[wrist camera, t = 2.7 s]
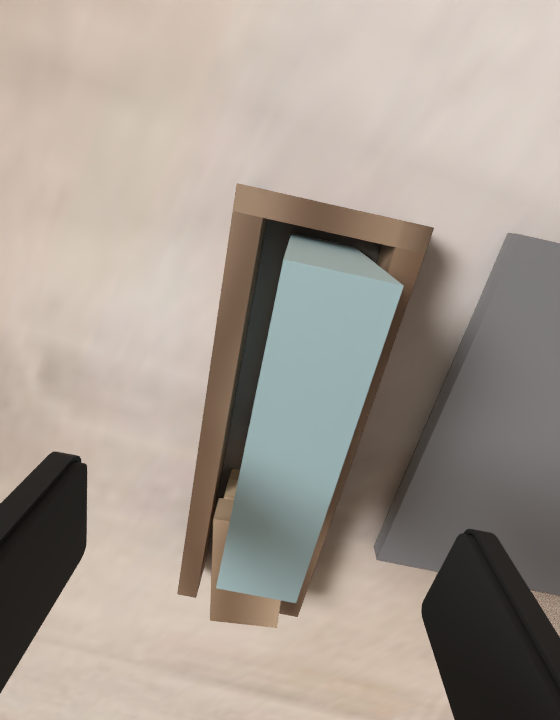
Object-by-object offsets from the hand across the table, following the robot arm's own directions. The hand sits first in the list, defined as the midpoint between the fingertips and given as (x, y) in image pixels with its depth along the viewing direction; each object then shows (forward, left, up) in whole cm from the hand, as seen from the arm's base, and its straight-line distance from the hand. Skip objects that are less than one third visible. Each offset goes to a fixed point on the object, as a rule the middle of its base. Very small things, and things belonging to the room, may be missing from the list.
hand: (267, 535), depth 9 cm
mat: (-15, +2, -11) cm, 19 cm away
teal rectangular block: (0, 0, -11) cm, 11 cm away
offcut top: (0, +12, -9) cm, 15 cm away
